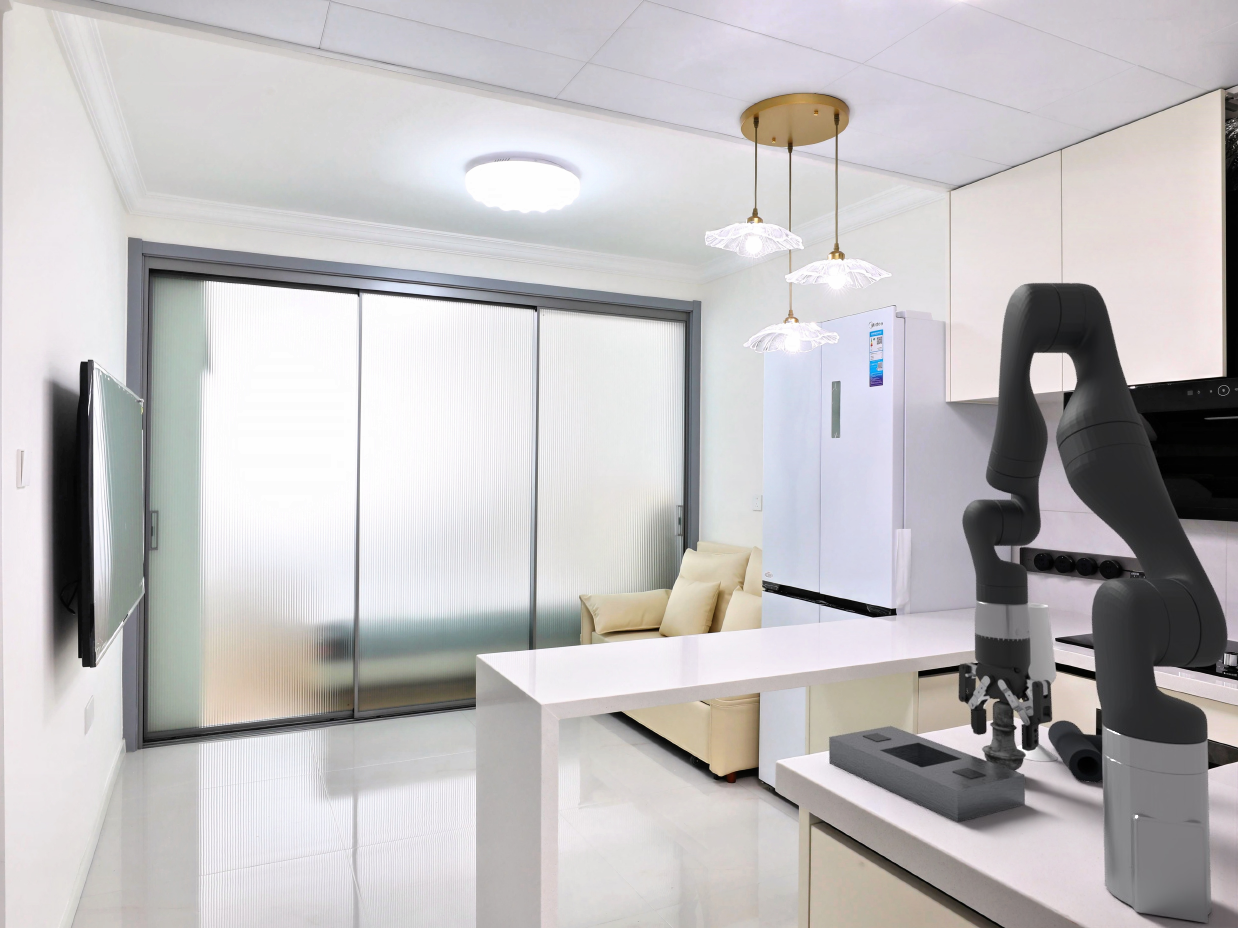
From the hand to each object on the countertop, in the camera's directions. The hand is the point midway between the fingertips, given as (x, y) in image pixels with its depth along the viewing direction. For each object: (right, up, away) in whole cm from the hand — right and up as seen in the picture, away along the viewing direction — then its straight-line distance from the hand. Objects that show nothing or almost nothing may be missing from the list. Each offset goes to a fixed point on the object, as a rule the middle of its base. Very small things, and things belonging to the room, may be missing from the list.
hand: (1003, 741), depth 116 cm
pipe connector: (+17, -6, +4) cm, 18 cm away
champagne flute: (+10, -6, +9) cm, 14 cm away
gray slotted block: (-14, -5, -3) cm, 15 cm away
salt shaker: (0, -5, 0) cm, 5 cm away
